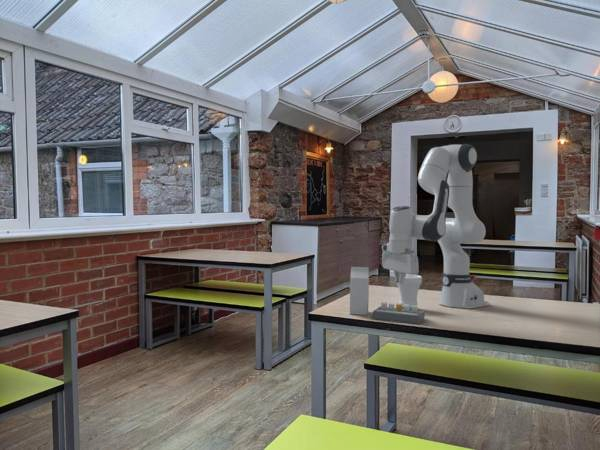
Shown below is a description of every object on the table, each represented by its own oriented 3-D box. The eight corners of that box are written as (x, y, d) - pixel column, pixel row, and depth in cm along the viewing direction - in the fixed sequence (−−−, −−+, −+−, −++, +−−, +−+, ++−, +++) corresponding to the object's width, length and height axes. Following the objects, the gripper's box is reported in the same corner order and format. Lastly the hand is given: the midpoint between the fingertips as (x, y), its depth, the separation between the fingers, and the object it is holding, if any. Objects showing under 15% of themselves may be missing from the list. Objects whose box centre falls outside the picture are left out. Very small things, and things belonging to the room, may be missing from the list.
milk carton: (367, 315, 197) (368, 268, 196) (349, 314, 198) (350, 267, 198) (368, 311, 204) (369, 266, 203) (351, 310, 205) (352, 265, 205)
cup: (422, 312, 204) (423, 278, 203) (395, 310, 206) (395, 277, 205) (420, 306, 215) (421, 274, 214) (394, 305, 217) (395, 273, 216)
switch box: (372, 318, 191) (373, 303, 191) (380, 313, 200) (380, 299, 200) (419, 324, 184) (419, 308, 183) (424, 318, 193) (424, 303, 192)
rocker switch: (396, 310, 192) (396, 304, 191) (397, 309, 193) (396, 303, 192) (401, 310, 191) (401, 305, 190) (402, 309, 192) (401, 304, 191)
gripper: (423, 250, 182) (422, 287, 183) (392, 245, 201) (392, 278, 202) (409, 250, 180) (408, 287, 180) (379, 245, 199) (378, 279, 199)
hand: (399, 283), depth 191 cm, fingers closed
